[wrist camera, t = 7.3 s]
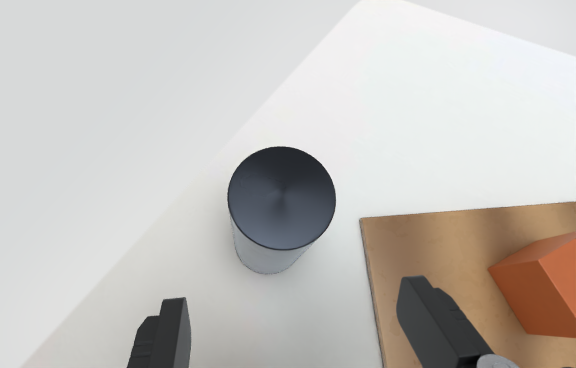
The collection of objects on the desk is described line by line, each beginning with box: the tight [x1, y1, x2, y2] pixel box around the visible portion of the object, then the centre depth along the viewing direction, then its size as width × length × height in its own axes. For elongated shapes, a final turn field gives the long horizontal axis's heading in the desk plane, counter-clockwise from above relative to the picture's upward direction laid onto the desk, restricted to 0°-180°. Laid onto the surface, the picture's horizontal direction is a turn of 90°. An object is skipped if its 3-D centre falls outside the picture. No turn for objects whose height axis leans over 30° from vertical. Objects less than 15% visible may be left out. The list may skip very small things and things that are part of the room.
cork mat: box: [360, 202, 576, 368], centre depth 26 cm, size 20×14×1 cm
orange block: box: [488, 231, 576, 338], centre depth 24 cm, size 5×5×5 cm
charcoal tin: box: [227, 146, 336, 274], centre depth 21 cm, size 5×5×11 cm
